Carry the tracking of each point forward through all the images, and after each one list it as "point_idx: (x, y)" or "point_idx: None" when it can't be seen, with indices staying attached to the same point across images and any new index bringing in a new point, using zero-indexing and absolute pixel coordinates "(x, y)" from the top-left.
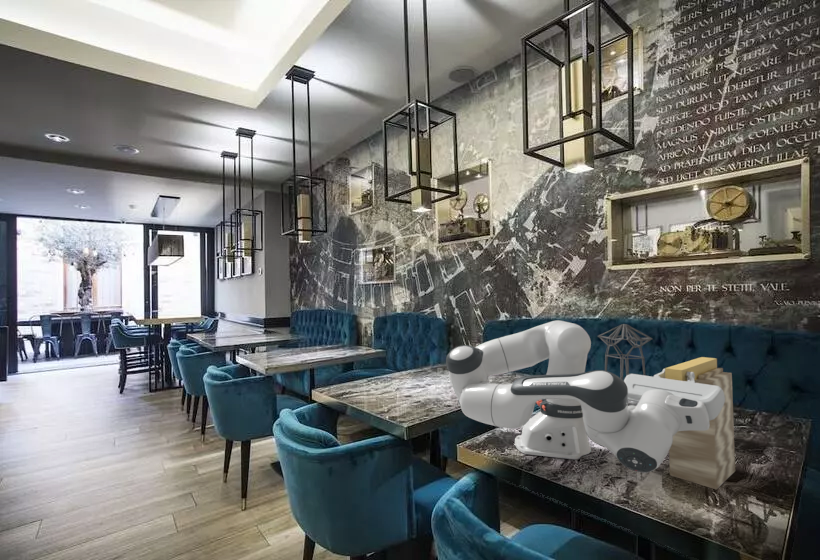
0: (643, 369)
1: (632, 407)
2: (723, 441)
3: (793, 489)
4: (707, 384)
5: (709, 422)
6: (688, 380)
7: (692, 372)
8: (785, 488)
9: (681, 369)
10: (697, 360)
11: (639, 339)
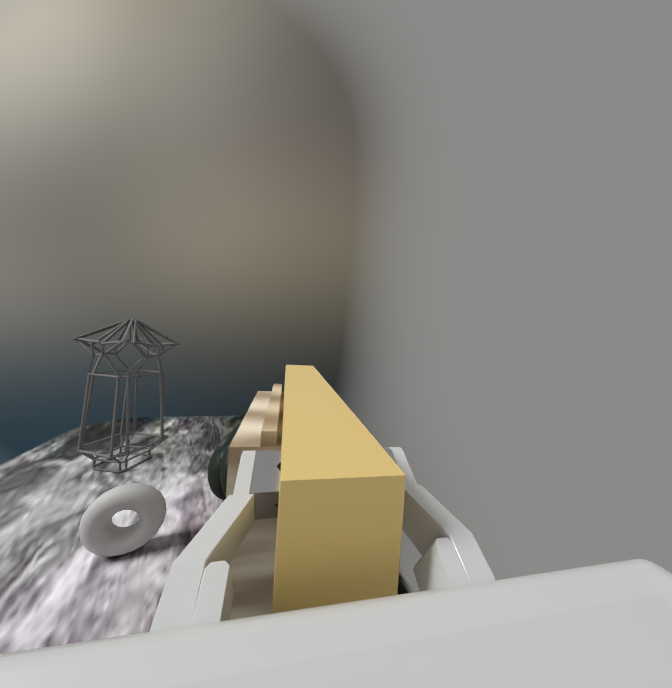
0: (160, 391)
1: (117, 494)
2: None
3: (406, 583)
4: (603, 572)
5: None
6: (443, 546)
7: (400, 451)
8: (400, 590)
9: (380, 457)
10: (298, 374)
11: (157, 343)
